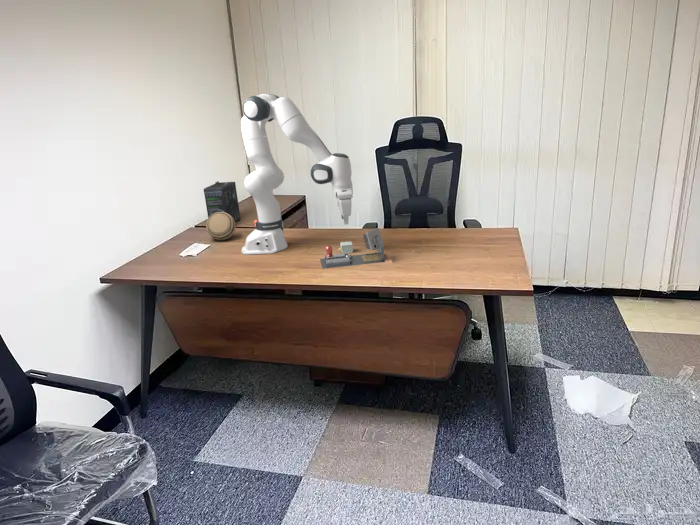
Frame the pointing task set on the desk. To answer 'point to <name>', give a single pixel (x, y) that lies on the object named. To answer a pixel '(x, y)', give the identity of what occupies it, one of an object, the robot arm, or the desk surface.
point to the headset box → (222, 199)
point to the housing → (346, 247)
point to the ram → (331, 256)
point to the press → (355, 259)
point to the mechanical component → (220, 225)
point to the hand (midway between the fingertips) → (344, 221)
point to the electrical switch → (372, 238)
